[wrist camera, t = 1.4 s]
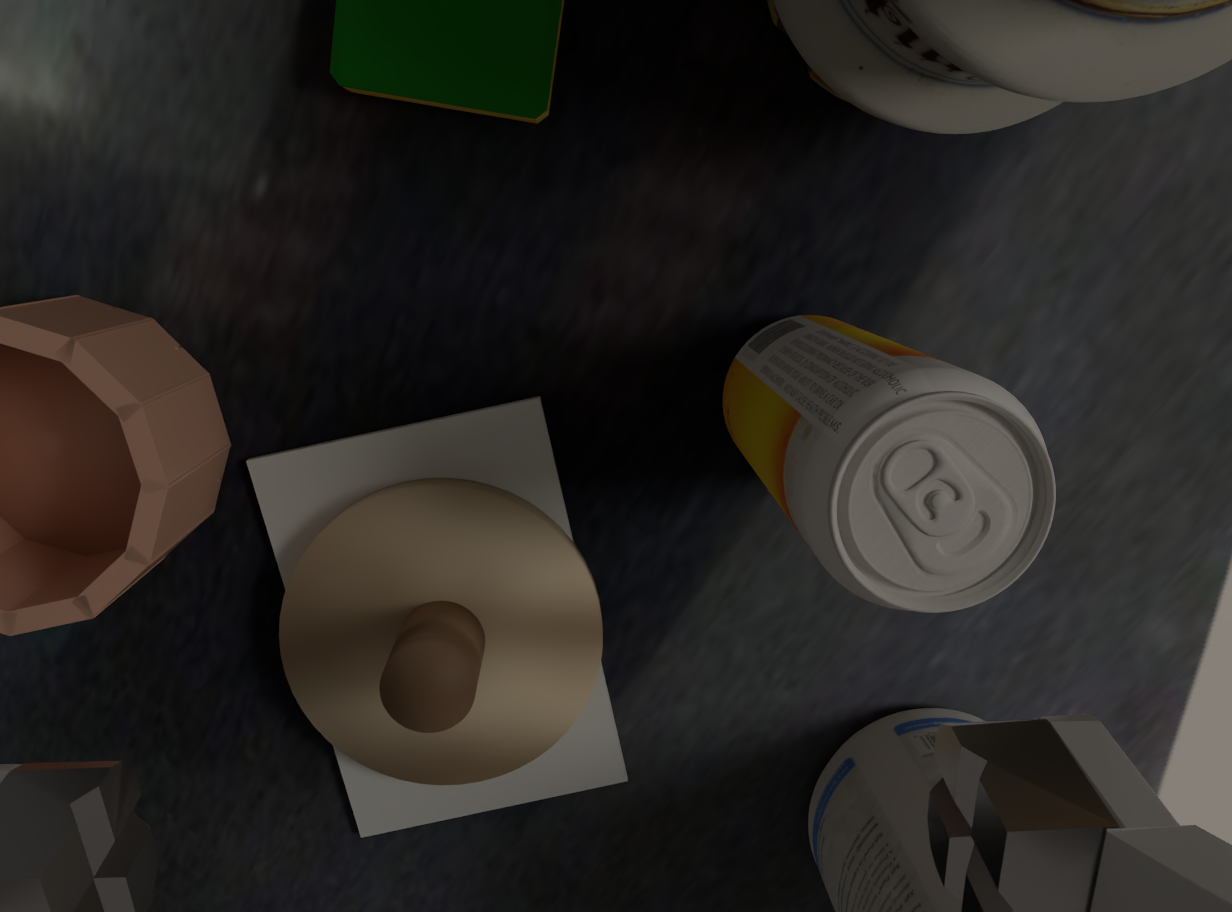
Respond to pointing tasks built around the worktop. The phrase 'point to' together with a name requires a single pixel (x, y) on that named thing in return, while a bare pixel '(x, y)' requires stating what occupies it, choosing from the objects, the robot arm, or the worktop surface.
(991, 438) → the beer can
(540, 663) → the lid
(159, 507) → the bowl
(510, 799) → the mat
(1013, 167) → the worktop surface
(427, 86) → the dish sponge
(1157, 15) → the apothecary jar
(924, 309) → the worktop surface
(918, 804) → the supplement tub
